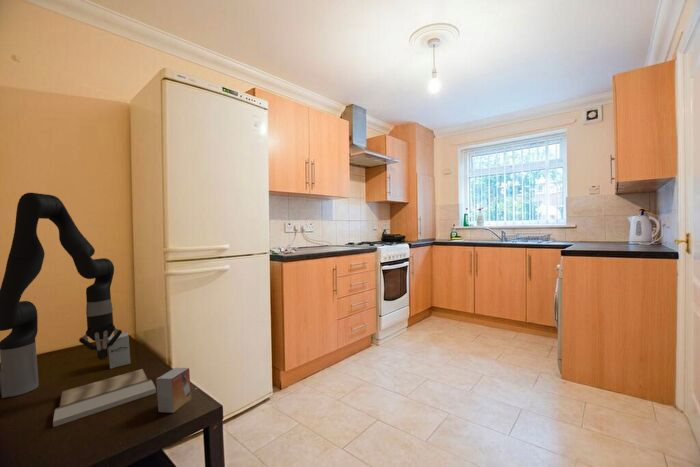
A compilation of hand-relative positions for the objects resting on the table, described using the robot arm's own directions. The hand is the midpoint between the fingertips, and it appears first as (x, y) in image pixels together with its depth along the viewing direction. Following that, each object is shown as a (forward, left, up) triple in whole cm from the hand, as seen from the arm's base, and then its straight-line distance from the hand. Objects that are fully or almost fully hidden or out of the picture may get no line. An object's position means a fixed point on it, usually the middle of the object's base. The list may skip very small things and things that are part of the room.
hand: (102, 359), depth 116 cm
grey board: (0, -16, -10) cm, 19 cm away
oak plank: (0, -3, -10) cm, 11 cm away
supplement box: (+6, +23, -11) cm, 26 cm away
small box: (+16, -36, -11) cm, 41 cm away
